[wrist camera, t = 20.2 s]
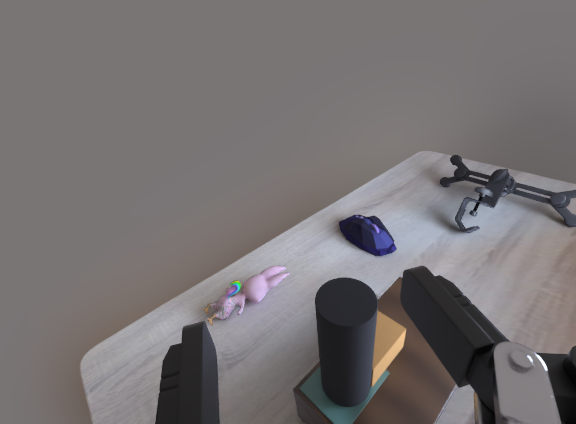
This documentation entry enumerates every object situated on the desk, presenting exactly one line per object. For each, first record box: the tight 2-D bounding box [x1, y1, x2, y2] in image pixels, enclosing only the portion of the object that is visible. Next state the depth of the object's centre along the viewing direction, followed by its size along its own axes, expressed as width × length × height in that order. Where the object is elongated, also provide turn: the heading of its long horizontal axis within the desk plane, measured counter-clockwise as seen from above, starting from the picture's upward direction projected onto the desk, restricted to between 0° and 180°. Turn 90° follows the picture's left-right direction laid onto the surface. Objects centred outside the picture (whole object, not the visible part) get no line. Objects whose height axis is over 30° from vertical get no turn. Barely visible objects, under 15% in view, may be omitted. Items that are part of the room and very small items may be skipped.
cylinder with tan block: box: [315, 278, 406, 407], centre depth 30 cm, size 10×5×13 cm, turn 133°
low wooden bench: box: [293, 277, 457, 424], centre depth 36 cm, size 22×12×6 cm, turn 133°
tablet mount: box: [440, 155, 576, 233], centre depth 62 cm, size 27×14×17 cm
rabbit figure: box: [204, 266, 289, 325], centre depth 50 cm, size 6×6×15 cm
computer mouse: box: [339, 215, 396, 256], centre depth 61 cm, size 9×15×4 cm, turn 24°
